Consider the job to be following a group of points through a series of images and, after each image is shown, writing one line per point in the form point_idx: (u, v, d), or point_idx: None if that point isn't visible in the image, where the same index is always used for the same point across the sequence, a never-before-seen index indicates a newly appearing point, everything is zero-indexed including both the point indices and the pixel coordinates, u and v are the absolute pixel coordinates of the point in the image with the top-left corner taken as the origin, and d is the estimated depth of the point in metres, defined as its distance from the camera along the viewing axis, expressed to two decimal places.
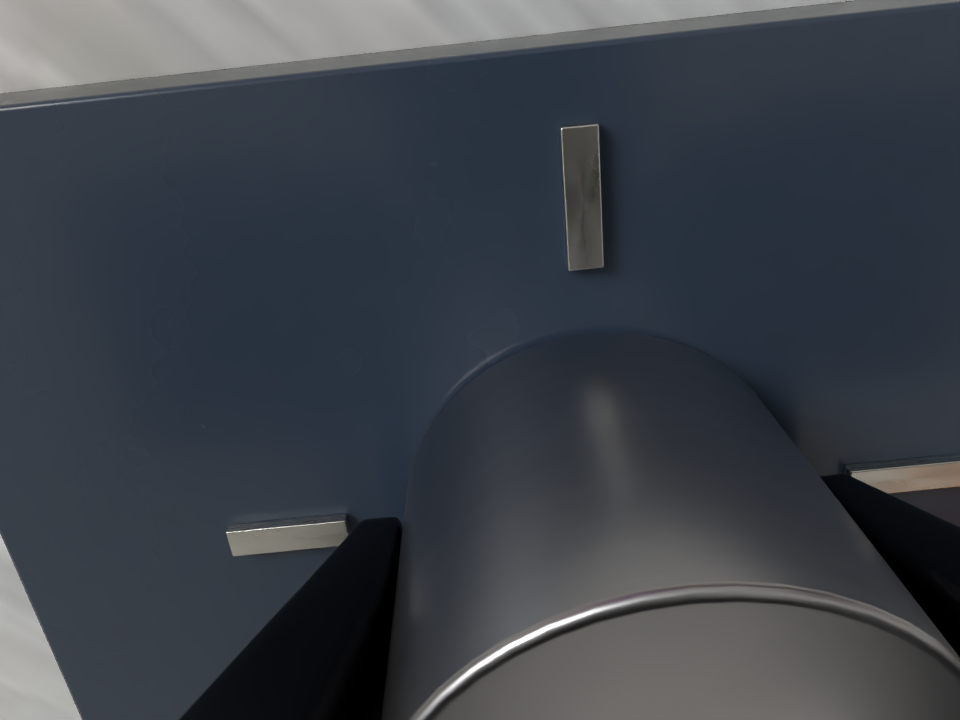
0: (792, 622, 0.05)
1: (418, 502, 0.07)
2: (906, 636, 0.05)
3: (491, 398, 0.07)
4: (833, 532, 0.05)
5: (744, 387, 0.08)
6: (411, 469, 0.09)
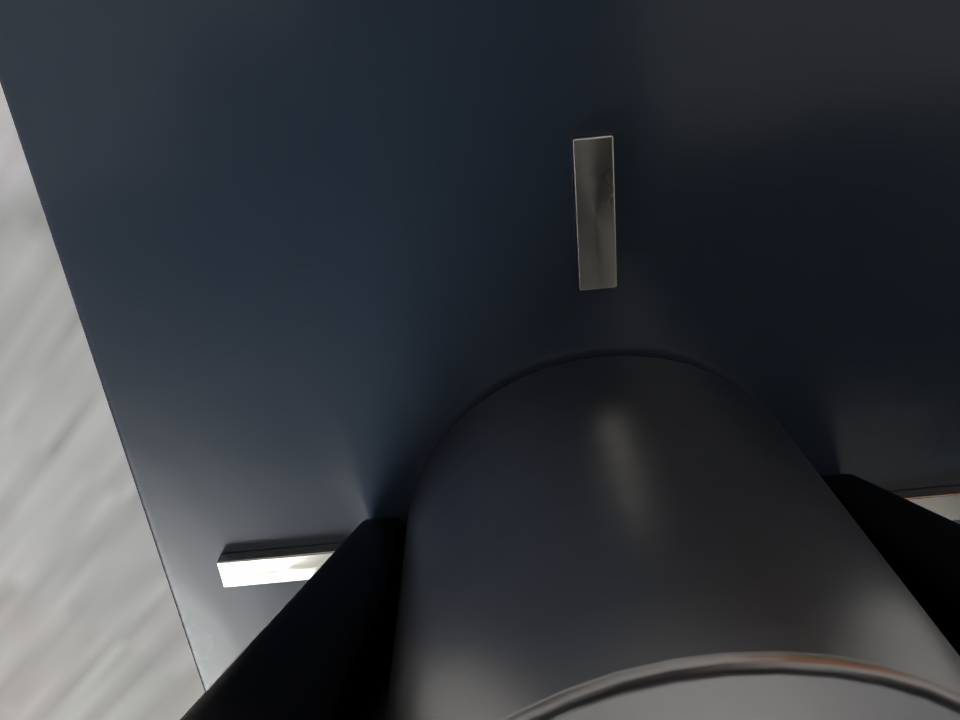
0: (838, 696, 0.04)
1: (420, 536, 0.07)
2: None
3: (499, 425, 0.07)
4: (875, 588, 0.05)
5: (767, 415, 0.07)
6: (412, 496, 0.08)
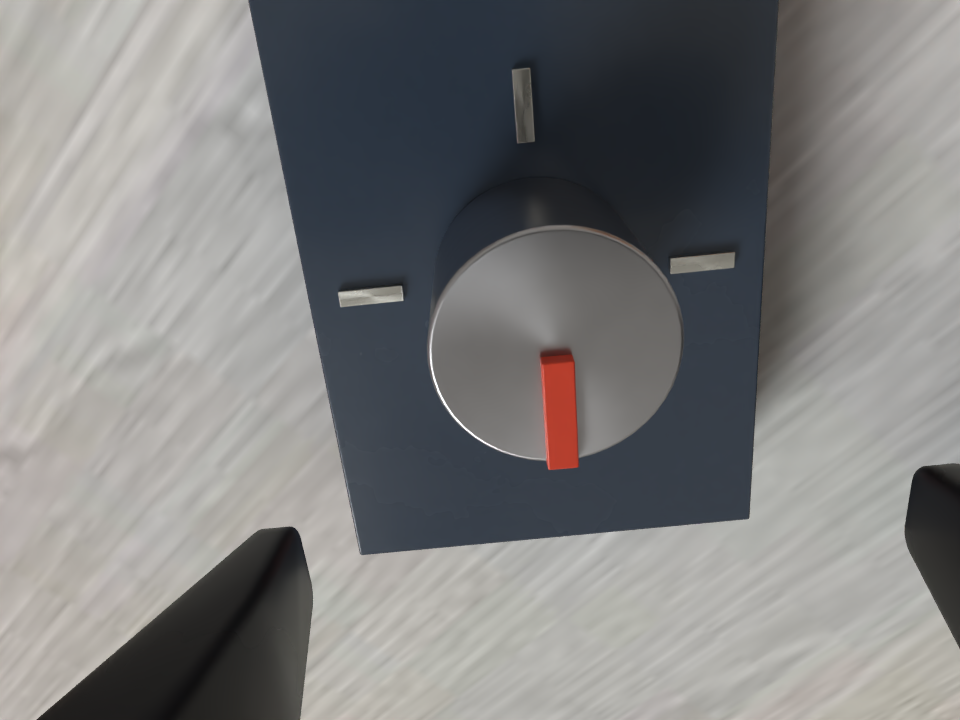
0: (587, 240, 0.12)
1: (443, 251, 0.15)
2: (631, 249, 0.12)
3: (479, 203, 0.15)
4: (616, 227, 0.13)
5: (607, 204, 0.16)
6: None
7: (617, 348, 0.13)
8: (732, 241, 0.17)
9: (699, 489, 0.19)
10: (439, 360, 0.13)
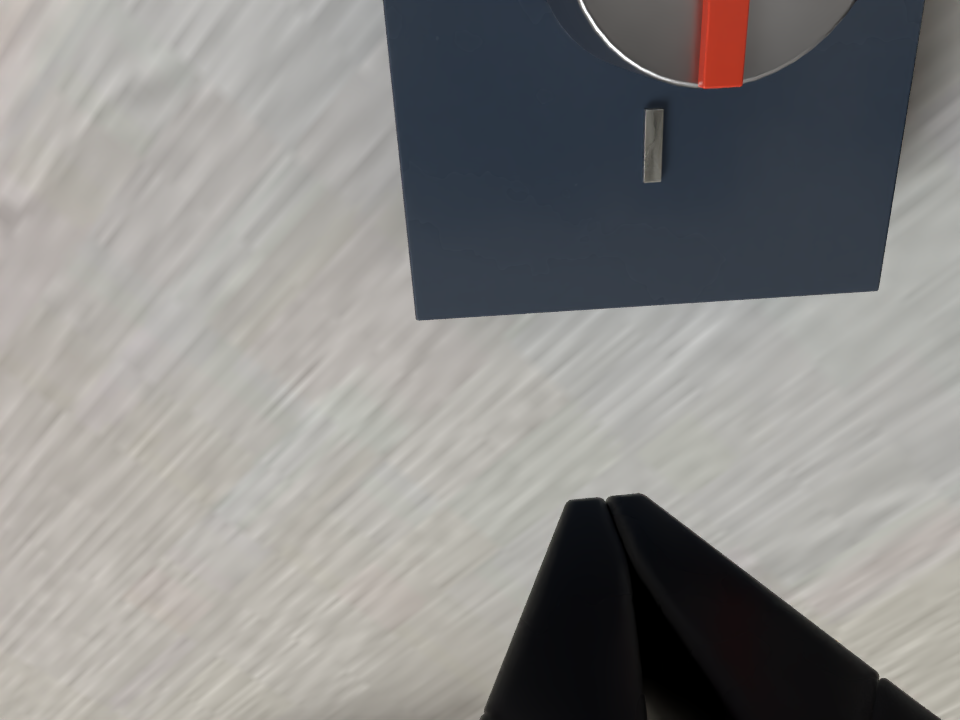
0: None
1: None
2: None
3: None
4: None
5: None
6: None
7: None
8: None
9: (824, 247, 0.16)
10: None
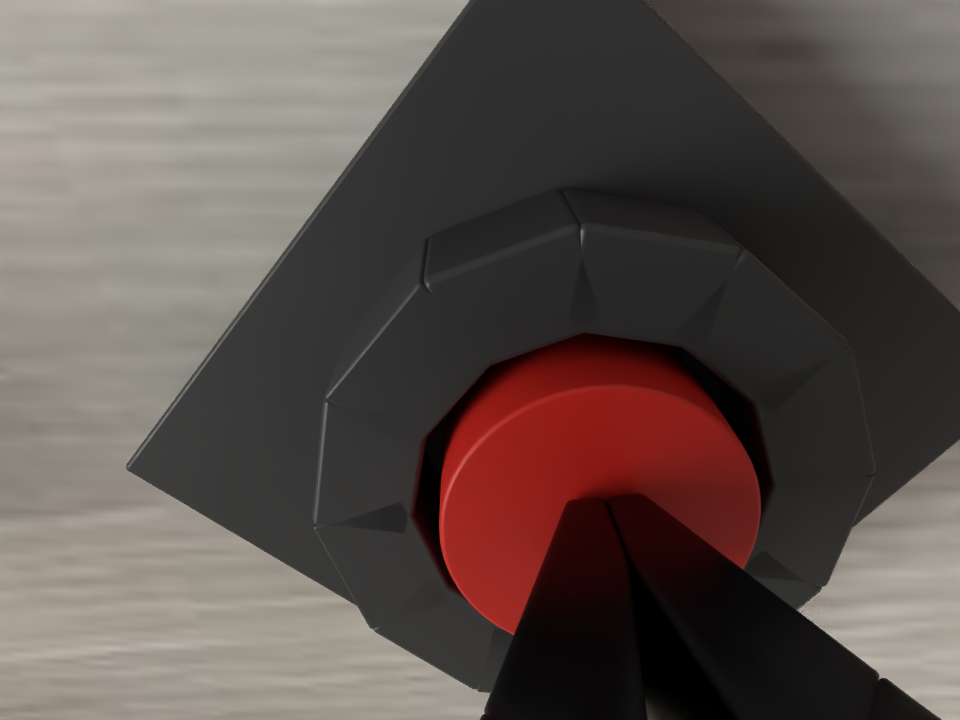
0: None
1: None
2: None
3: None
4: None
5: None
6: None
7: None
8: None
9: None
10: None
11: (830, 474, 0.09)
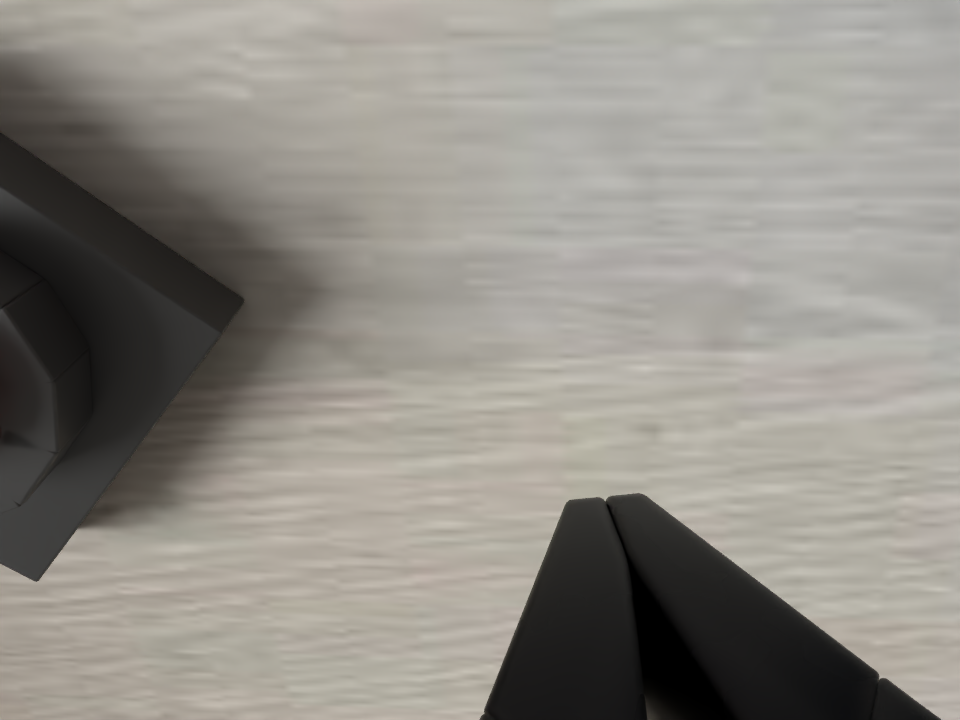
0: None
1: None
2: None
3: None
4: None
5: None
6: None
7: None
8: None
9: None
10: None
11: (25, 382, 0.16)
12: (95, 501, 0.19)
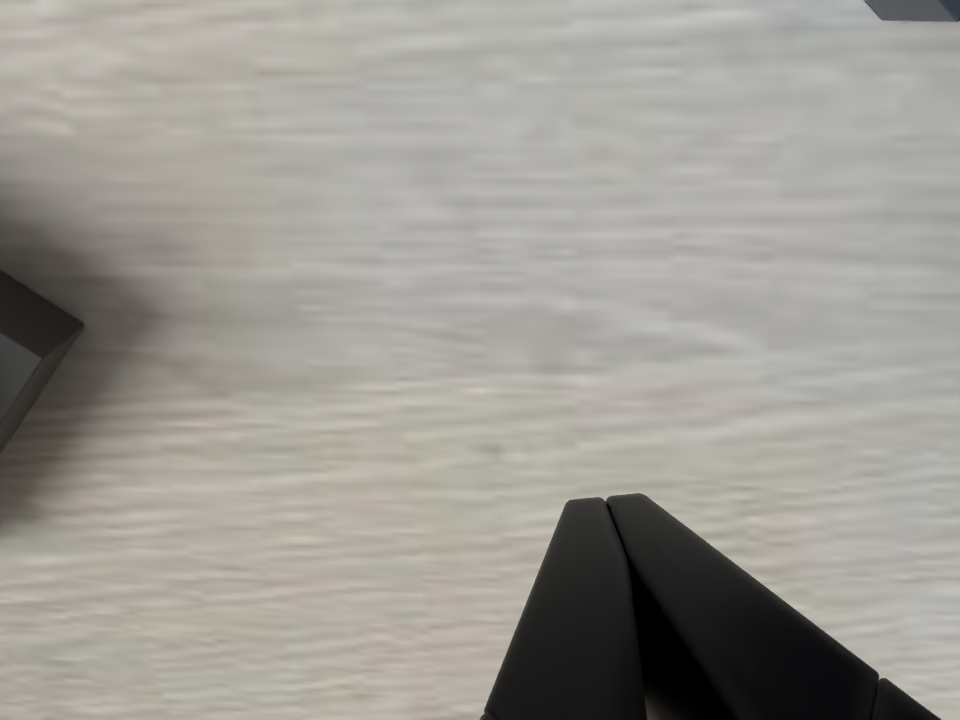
0: None
1: None
2: None
3: None
4: None
5: None
6: None
7: None
8: None
9: None
10: None
11: None
12: None
